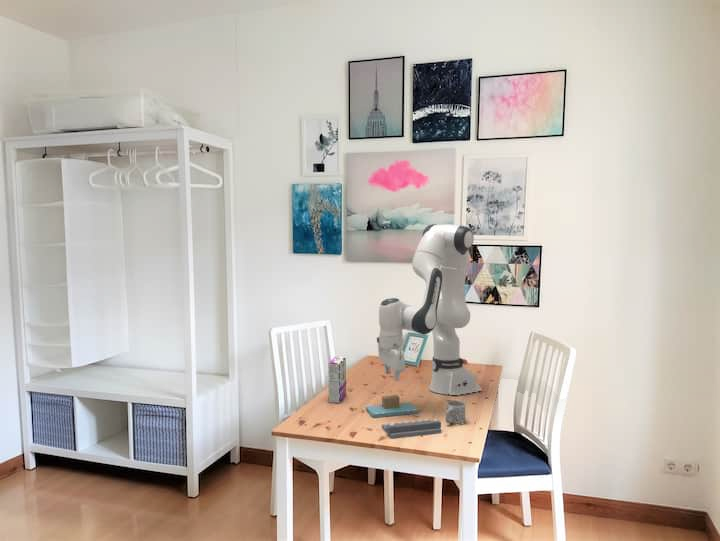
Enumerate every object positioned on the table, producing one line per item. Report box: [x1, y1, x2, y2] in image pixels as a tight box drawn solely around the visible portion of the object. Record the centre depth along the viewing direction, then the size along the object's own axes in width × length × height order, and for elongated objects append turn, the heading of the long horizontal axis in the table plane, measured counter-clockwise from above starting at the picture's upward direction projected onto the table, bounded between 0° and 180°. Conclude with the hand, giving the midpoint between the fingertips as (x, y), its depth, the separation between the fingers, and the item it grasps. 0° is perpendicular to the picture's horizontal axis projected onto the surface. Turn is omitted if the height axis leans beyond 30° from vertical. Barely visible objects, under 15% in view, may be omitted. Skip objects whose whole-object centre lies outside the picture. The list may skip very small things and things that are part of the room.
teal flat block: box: [365, 394, 419, 418], centre depth 203 cm, size 18×9×5 cm, turn 106°
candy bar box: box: [328, 355, 347, 404], centre depth 218 cm, size 11×5×16 cm, turn 168°
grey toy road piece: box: [381, 418, 442, 439], centre depth 184 cm, size 19×10×4 cm, turn 106°
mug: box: [445, 400, 466, 425], centre depth 192 cm, size 10×7×7 cm, turn 141°
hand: (392, 377), depth 205 cm, fingers open, 8 cm apart
